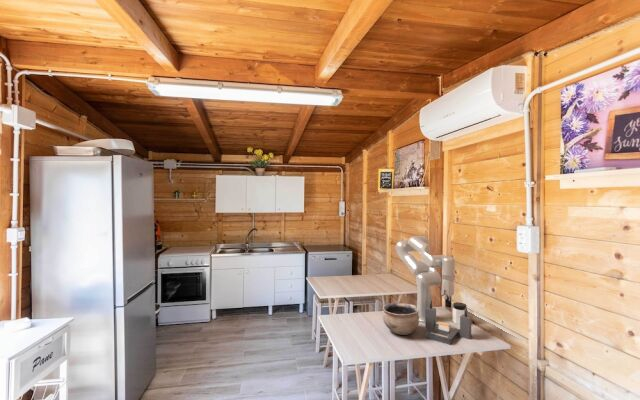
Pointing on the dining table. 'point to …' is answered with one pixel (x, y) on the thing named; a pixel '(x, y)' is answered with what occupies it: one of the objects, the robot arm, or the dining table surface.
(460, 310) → the jar
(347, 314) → the dining table surface
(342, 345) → the dining table surface
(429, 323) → the left plug adapter
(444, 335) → the breaker panel
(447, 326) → the block
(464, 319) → the right plug adapter
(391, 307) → the ceramic bowl
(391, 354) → the dining table surface
